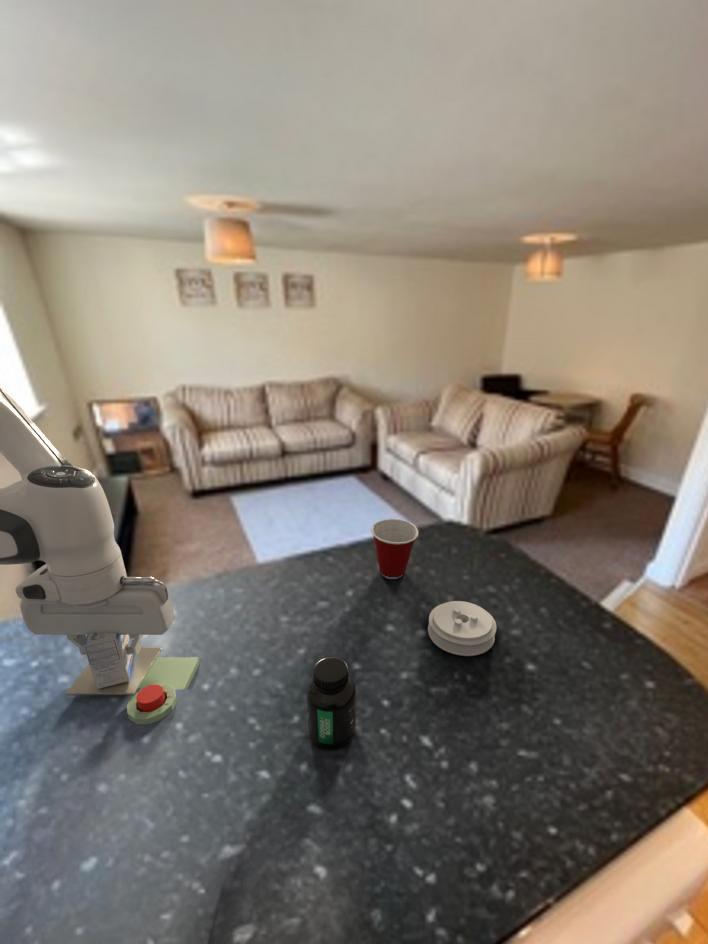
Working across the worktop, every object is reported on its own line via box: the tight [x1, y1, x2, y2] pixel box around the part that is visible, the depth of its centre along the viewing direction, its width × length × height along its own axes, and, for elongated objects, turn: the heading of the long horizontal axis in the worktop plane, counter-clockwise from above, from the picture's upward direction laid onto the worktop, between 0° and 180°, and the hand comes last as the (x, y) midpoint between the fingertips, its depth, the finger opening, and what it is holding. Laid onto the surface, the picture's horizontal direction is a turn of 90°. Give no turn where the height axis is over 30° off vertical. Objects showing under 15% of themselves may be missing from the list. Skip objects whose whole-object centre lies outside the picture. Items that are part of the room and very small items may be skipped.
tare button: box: [136, 684, 166, 712], centre depth 66 cm, size 4×4×2 cm
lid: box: [427, 600, 497, 657], centre depth 85 cm, size 13×13×5 cm
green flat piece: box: [126, 656, 201, 725], centre depth 70 cm, size 16×14×3 cm
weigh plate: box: [65, 646, 163, 696], centre depth 72 cm, size 10×10×1 cm
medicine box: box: [84, 633, 133, 689], centre depth 70 cm, size 8×4×9 cm, turn 22°
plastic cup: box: [370, 518, 419, 577], centre depth 103 cm, size 11×11×12 cm
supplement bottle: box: [306, 656, 357, 751], centre depth 64 cm, size 7×7×12 cm
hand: (112, 652), depth 70 cm, fingers open, 6 cm apart
